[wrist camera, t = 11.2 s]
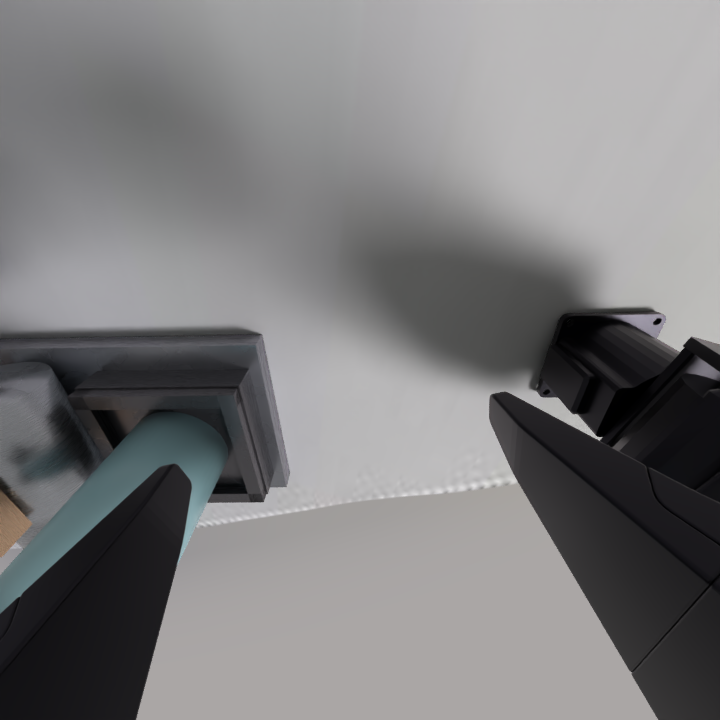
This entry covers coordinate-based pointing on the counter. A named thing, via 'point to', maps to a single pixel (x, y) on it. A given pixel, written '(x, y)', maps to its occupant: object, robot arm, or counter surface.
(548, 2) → the counter surface
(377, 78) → the counter surface
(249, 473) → the tray
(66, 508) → the container with domed lid
